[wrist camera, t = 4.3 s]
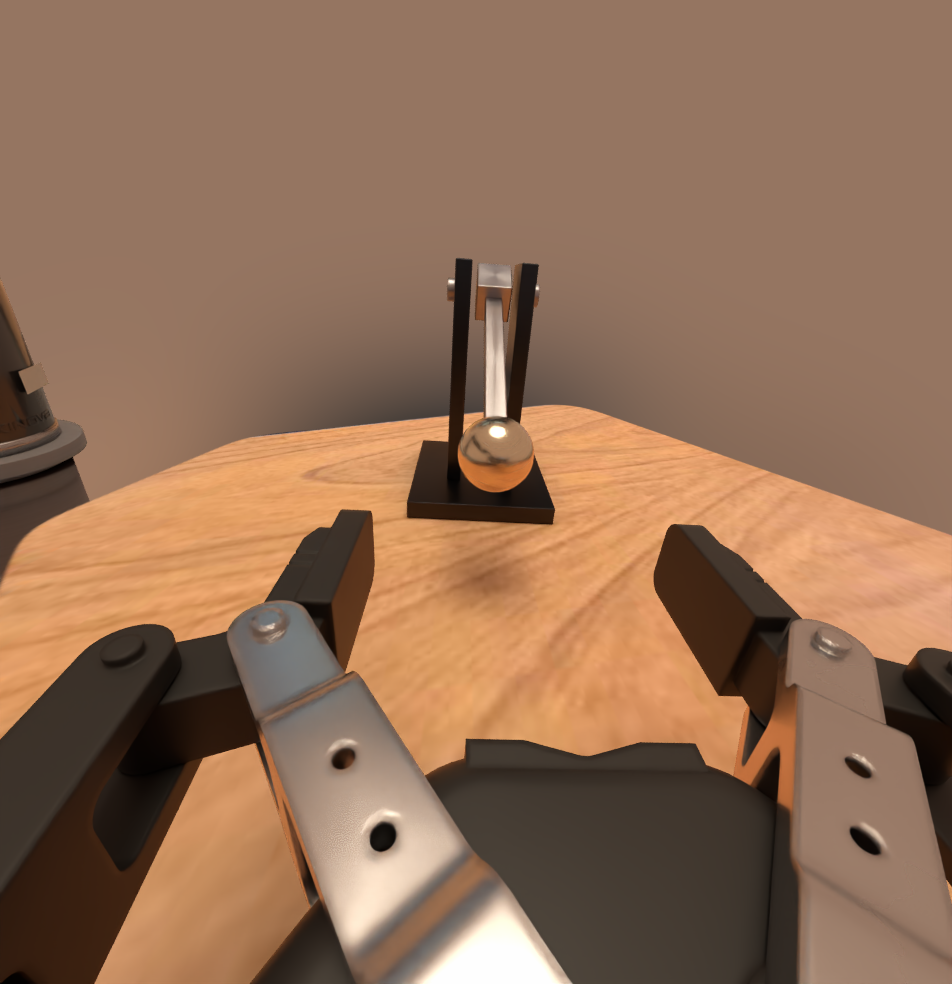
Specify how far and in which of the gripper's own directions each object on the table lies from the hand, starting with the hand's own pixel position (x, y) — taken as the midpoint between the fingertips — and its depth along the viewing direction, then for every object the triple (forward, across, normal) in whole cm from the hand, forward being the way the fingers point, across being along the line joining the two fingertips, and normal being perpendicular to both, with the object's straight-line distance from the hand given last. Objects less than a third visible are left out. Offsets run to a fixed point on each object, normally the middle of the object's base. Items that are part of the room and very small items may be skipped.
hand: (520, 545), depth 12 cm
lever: (+16, 0, +1) cm, 16 cm away
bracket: (+22, 0, -8) cm, 23 cm away
